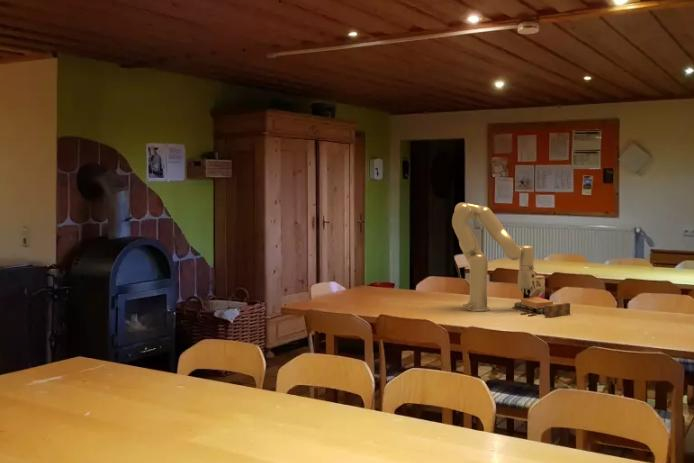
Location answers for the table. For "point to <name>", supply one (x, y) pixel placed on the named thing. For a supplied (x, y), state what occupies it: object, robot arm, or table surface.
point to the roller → (540, 310)
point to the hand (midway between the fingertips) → (526, 301)
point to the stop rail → (557, 310)
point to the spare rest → (528, 313)
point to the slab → (536, 302)
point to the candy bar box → (539, 288)
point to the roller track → (525, 308)
